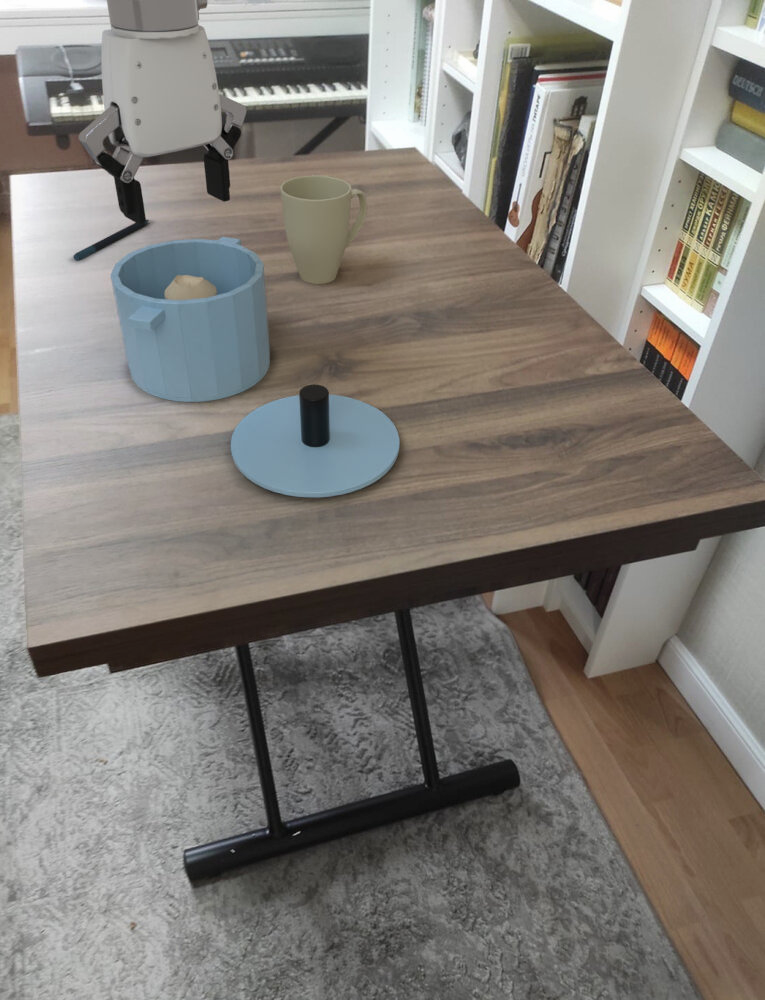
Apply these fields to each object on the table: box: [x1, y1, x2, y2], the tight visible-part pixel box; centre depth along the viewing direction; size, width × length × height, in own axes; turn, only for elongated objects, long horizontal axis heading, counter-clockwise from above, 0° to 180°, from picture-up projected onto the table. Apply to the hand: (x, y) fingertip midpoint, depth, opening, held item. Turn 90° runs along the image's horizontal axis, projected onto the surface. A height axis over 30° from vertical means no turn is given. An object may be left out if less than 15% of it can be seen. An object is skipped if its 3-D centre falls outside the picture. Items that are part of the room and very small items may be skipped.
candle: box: [164, 275, 217, 300], centre depth 91 cm, size 6×6×10 cm
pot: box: [110, 236, 271, 403], centre depth 91 cm, size 16×21×12 cm
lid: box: [230, 383, 401, 498], centre depth 81 cm, size 17×17×7 cm
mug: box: [279, 174, 368, 285], centre depth 110 cm, size 11×10×12 cm
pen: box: [72, 219, 149, 261], centre depth 120 cm, size 1×16×1 cm, turn 153°
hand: (178, 208), depth 83 cm, fingers open, 9 cm apart
